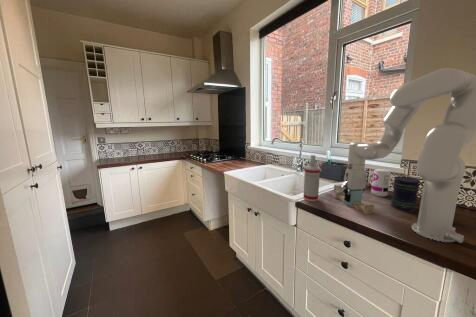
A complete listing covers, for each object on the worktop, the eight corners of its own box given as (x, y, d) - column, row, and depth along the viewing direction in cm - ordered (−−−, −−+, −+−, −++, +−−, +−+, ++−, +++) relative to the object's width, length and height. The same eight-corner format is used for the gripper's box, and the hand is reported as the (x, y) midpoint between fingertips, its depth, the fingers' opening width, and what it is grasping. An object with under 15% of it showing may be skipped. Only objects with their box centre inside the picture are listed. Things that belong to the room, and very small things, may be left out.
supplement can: (373, 196, 120) (376, 171, 117) (369, 191, 127) (371, 168, 125) (389, 197, 117) (393, 172, 115) (384, 192, 125) (387, 168, 122)
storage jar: (420, 212, 98) (425, 182, 95) (396, 210, 100) (401, 181, 97) (407, 204, 108) (411, 176, 105) (386, 203, 110) (390, 175, 107)
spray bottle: (300, 198, 117) (302, 154, 113) (308, 195, 122) (311, 153, 117) (312, 202, 111) (315, 156, 107) (320, 199, 116) (323, 155, 111)
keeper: (361, 205, 106) (362, 190, 104) (350, 206, 104) (352, 191, 103) (353, 202, 111) (355, 187, 109) (343, 203, 109) (345, 188, 108)
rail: (373, 213, 98) (375, 198, 96) (366, 214, 97) (367, 199, 95) (339, 196, 120) (340, 184, 118) (333, 197, 119) (334, 184, 117)
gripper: (346, 169, 98) (343, 204, 102) (376, 167, 102) (372, 201, 105) (336, 166, 106) (333, 199, 109) (364, 164, 109) (360, 196, 113)
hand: (352, 200), depth 107 cm, fingers closed on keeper, 6 cm apart
